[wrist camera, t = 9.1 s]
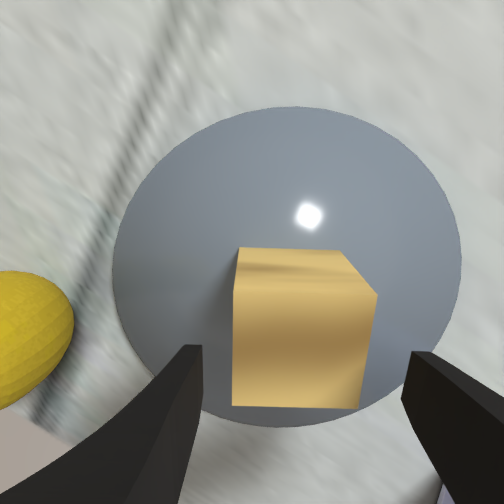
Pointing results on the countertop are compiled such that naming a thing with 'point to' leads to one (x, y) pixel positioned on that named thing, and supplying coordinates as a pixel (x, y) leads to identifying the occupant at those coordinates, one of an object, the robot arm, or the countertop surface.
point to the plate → (285, 243)
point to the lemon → (30, 332)
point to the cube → (299, 329)
